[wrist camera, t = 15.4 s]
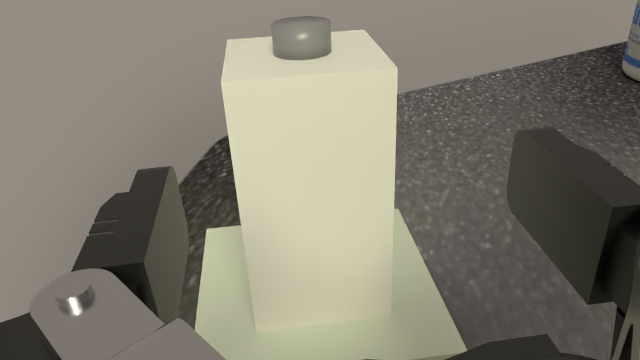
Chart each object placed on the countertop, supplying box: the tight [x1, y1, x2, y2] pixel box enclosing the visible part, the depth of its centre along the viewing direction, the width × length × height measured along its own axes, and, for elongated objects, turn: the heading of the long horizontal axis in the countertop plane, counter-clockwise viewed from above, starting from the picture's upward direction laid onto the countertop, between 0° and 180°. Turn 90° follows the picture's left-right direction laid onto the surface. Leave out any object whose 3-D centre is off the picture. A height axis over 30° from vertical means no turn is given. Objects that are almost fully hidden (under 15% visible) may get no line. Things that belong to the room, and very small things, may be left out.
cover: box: [221, 16, 398, 332], centre depth 24 cm, size 6×6×13 cm
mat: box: [195, 209, 467, 360], centre depth 28 cm, size 12×12×1 cm
